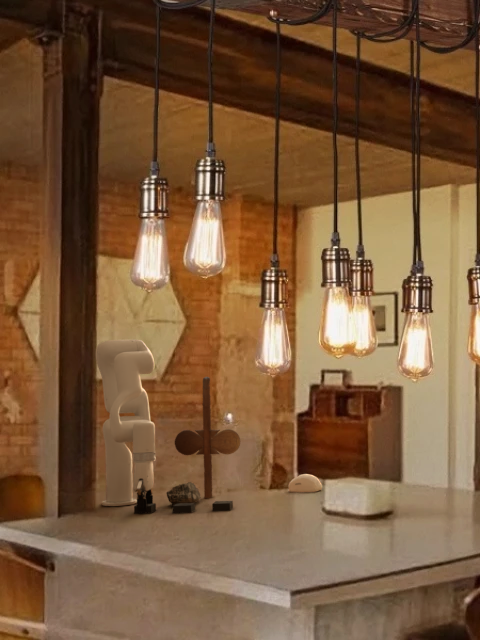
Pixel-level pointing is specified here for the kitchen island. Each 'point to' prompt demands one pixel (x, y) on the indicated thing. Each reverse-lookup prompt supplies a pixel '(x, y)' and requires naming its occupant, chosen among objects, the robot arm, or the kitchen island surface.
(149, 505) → the pad
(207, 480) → the brown flat cross piece
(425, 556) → the kitchen island surface
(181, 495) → the rock
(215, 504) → the pad
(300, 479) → the computer mouse
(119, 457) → the robot arm
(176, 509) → the pad base
